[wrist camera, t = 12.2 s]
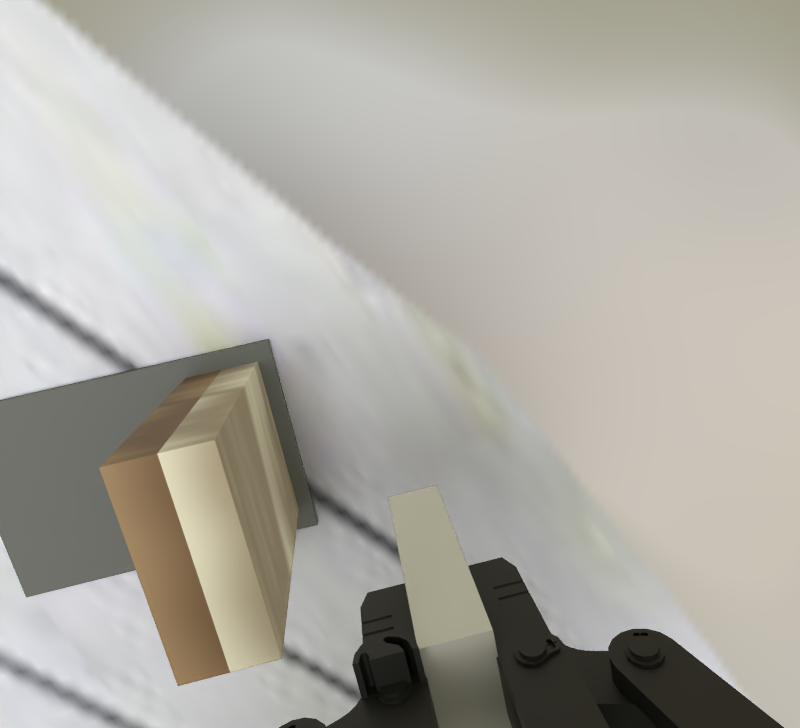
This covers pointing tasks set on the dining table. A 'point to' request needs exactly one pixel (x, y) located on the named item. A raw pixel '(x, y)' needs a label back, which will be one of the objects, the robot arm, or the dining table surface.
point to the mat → (83, 455)
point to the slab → (210, 522)
